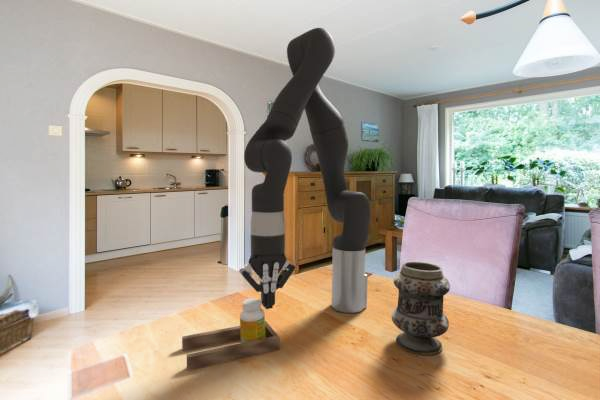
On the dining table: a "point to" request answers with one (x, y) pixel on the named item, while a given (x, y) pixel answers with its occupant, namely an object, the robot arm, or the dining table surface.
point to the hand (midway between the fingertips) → (267, 307)
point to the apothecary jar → (420, 307)
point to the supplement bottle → (252, 320)
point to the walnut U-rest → (226, 352)
